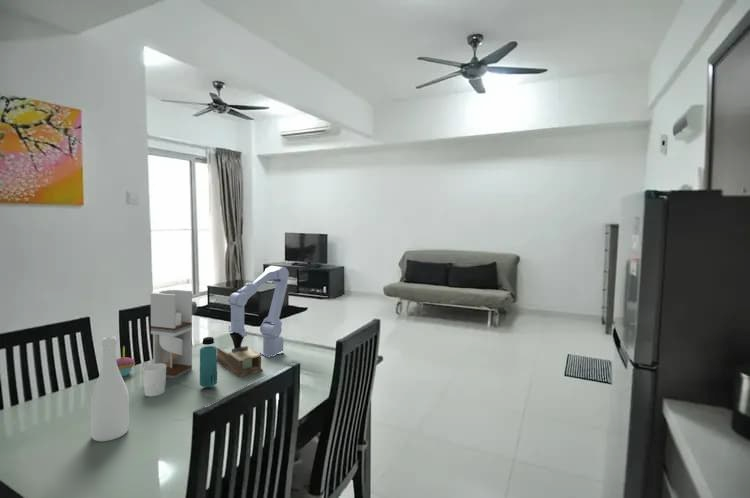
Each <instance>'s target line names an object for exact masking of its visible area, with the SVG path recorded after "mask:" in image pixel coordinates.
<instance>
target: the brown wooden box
mask: <svg viewBox="0 0 750 498" xmlns="http://www.w3.org/2000/svg"><path fill="white" fill-rule="evenodd" d="M241 347H243V346H242V345H241ZM216 348H217V364H219V365H221V366H222V367H223V368H225V369H226V370H228V371H229V372H230V373H232V374H233V375H234V376H236V377H237V378H241V377H244V376H248V375H252V374H255V373H256V374H257V373H260V372H263V370H264V369H263V368H262V356H260V357H256V358H252V367H251V368H247V369H243V370H241V369H242V361H238V360H237V359H235V358H233V357H232V356H230V355H229V354H228V353H229V352H227V351H226V350H224V349H222V348H221V347H216ZM259 371H260V372H259Z"/></svg>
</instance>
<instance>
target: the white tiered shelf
mask: <svg viewBox="0 0 750 498" xmlns="http://www.w3.org/2000/svg"><path fill="white" fill-rule="evenodd" d="M150 334H151V335H152V350H153V352H152V362H153V363H152V364H157V363H162V364H166V379H174V380H175V379H176V378H179V377H180V376H183V375H185V374H187V373H189V372H190V371H192V370H193V291H192V290H185V289H184V290H183V289H173V288H172V289H171V288H169V289H165V290H160V291H153V292H150Z"/></svg>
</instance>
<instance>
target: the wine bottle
mask: <svg viewBox="0 0 750 498" xmlns="http://www.w3.org/2000/svg"><path fill="white" fill-rule="evenodd" d="M117 343H118V341H117V337H116V336H112V335H110V336H104V337H103V338H102V340H101V346H102V367H101V371H100V373H99V376H98V378H97V381H96V384H95V386H94V389H93V392H92V394H91V397H90V432H91V433H90V436H91V439H92V440H94V441H96V442H110V441H114V440H116V439H119V438H121V437H123V436H124V435H126V433H127V432H128V431H129V428H130V415H129V414H130V413H129V412H130V405H129V403H130V402H129V399H130V398H129V397H130V396H129V395H130V394H129V389H128V387H127V384H126V383H125V380H124V379H123V376H121V374H120V371H119V369H118V366H117V362H116V359H117V347H116V345H117Z"/></svg>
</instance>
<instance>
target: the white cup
mask: <svg viewBox="0 0 750 498" xmlns="http://www.w3.org/2000/svg"><path fill="white" fill-rule="evenodd" d="M166 380H167V378H166V364H162V363H157V364H153V363H150V364H148V365H144V366H143V367H142V383H143V390H144V396H147V397H157V396H160V395H162V394H164V393H165V391H166Z"/></svg>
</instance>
